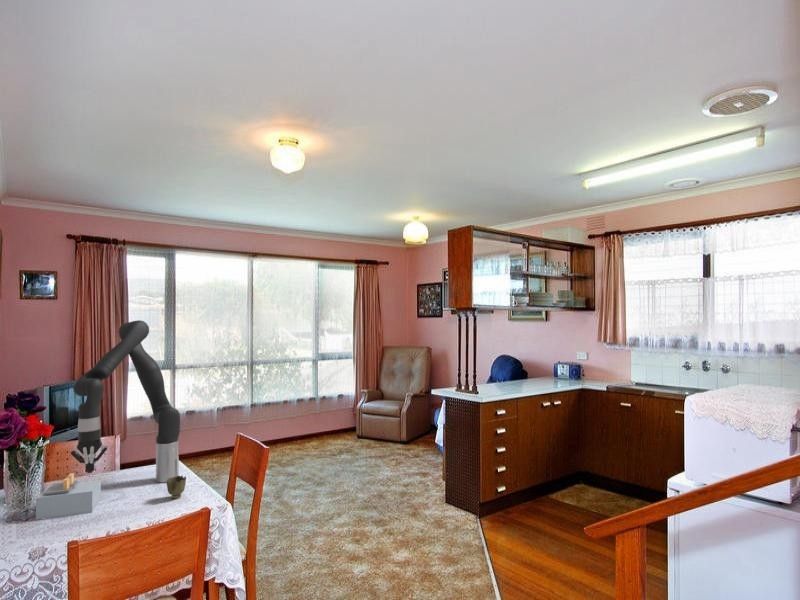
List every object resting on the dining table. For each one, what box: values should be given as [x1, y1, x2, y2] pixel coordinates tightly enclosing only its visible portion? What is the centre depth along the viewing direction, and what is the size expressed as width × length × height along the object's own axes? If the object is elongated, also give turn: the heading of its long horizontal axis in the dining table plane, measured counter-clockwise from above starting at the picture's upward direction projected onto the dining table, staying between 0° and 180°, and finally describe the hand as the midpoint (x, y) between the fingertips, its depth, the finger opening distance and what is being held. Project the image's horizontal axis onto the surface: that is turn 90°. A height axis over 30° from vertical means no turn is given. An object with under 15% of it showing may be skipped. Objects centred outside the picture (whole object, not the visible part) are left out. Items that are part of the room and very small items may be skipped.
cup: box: [166, 475, 187, 500], centre depth 198 cm, size 8×7×8 cm
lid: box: [43, 472, 78, 496], centre depth 187 cm, size 8×12×4 cm, turn 20°
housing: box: [35, 479, 102, 521], centre depth 188 cm, size 18×14×8 cm
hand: (89, 472), depth 191 cm, fingers closed
